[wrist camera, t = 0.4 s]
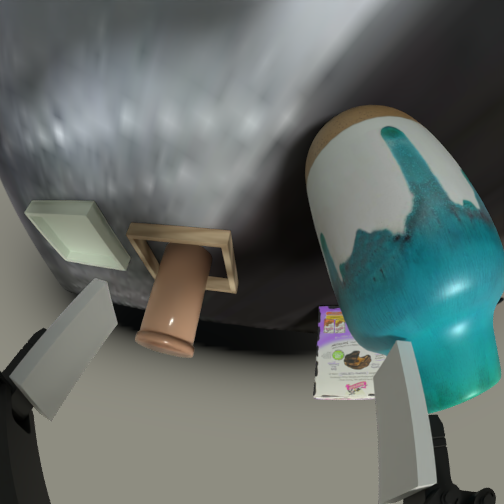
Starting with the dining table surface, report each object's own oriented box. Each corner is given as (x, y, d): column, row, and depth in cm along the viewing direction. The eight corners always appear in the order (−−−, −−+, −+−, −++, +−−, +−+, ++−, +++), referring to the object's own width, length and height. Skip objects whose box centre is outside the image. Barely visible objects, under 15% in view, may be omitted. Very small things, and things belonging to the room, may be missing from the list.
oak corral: (131, 222, 36) (125, 234, 35) (230, 230, 34) (227, 244, 33) (159, 272, 47) (156, 282, 46) (238, 282, 46) (236, 293, 45)
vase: (284, 189, 24) (335, 430, 14) (298, 75, 15) (440, 435, 5) (388, 186, 25) (462, 383, 15) (427, 94, 16) (572, 334, 6)
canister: (157, 237, 38) (125, 334, 30) (209, 242, 37) (184, 347, 30) (171, 265, 44) (147, 349, 37) (217, 270, 44) (198, 360, 36)
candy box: (319, 316, 54) (313, 399, 45) (318, 304, 49) (311, 397, 41) (388, 315, 50) (388, 399, 41) (394, 303, 45) (395, 396, 37)
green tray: (32, 200, 34) (24, 212, 33) (94, 200, 33) (86, 215, 31) (71, 249, 46) (65, 260, 44) (130, 257, 44) (125, 270, 43)
